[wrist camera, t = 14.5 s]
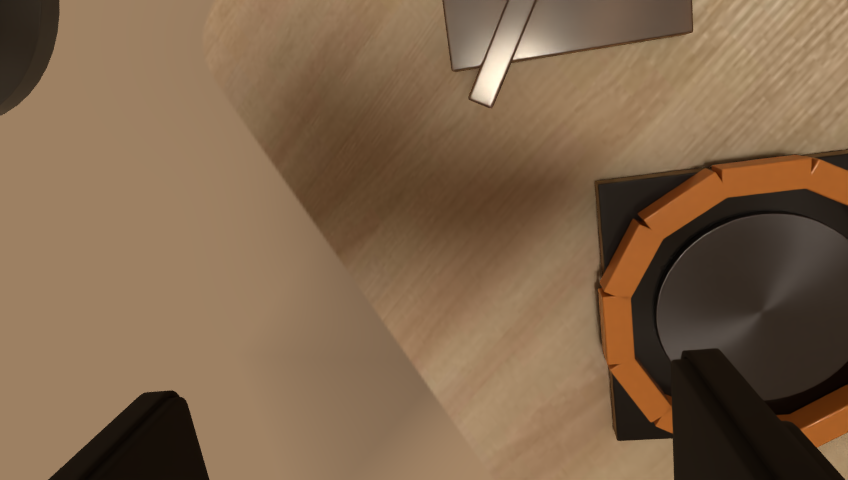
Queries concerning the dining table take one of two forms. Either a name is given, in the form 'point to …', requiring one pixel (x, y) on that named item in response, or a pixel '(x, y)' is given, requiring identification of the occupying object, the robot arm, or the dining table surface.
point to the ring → (668, 215)
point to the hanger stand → (549, 32)
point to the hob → (737, 291)
